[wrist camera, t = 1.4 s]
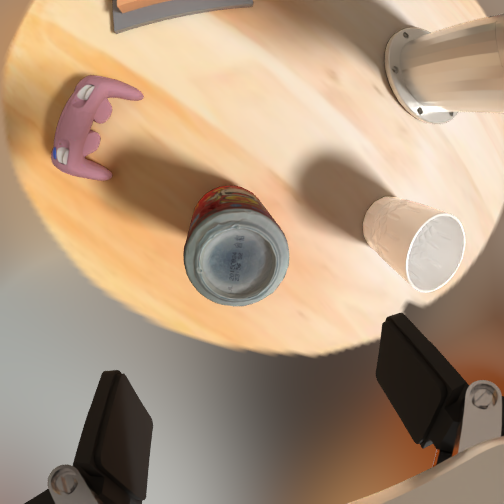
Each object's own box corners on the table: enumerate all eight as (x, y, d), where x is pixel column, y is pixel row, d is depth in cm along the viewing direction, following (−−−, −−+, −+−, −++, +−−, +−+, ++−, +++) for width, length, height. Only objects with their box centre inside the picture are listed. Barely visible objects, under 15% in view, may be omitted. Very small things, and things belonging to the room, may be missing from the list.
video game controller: (121, 84, 25) (73, 66, 18) (150, 92, 24) (101, 70, 18) (88, 170, 28) (37, 168, 21) (113, 185, 27) (60, 185, 20)
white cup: (353, 255, 34) (397, 296, 24) (361, 189, 31) (414, 211, 22) (405, 253, 35) (454, 288, 25) (415, 193, 32) (471, 214, 23)
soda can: (264, 183, 29) (298, 212, 18) (260, 249, 32) (287, 312, 21) (193, 181, 28) (180, 210, 17) (193, 249, 31) (184, 313, 20)
